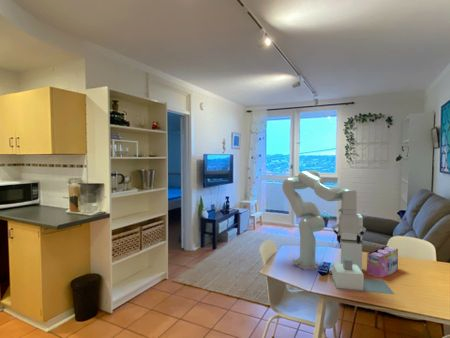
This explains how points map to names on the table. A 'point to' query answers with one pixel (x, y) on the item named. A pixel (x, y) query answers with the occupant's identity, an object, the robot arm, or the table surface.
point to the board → (372, 286)
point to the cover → (348, 275)
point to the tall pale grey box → (352, 246)
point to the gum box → (382, 262)
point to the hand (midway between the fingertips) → (348, 242)
